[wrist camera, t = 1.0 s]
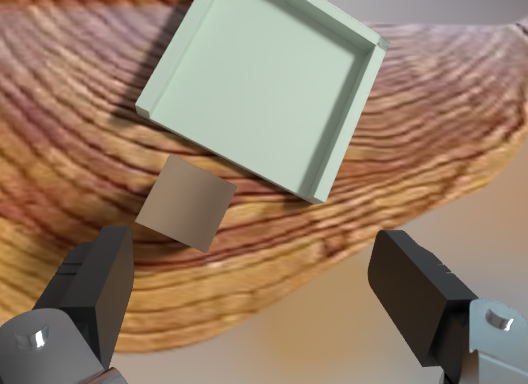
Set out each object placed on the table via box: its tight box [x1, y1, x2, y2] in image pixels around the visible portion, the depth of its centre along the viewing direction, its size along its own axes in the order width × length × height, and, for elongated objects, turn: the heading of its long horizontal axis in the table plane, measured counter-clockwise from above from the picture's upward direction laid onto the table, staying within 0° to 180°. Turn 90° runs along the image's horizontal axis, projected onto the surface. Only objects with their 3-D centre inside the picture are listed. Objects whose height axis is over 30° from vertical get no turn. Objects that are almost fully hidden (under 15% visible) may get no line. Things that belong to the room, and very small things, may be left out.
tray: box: [135, 0, 390, 204], centre depth 33 cm, size 18×18×2 cm
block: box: [135, 153, 238, 253], centre depth 26 cm, size 4×4×10 cm
